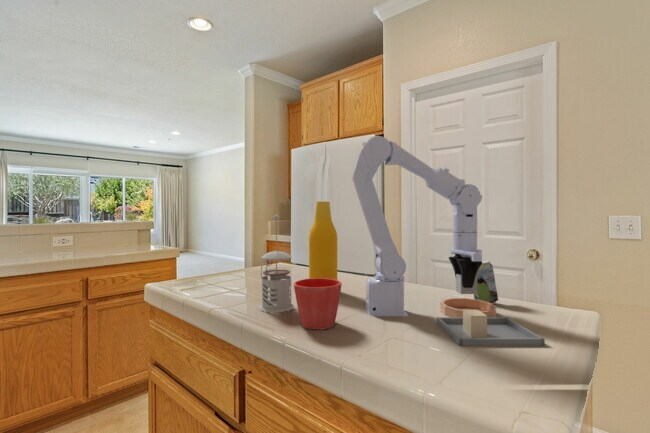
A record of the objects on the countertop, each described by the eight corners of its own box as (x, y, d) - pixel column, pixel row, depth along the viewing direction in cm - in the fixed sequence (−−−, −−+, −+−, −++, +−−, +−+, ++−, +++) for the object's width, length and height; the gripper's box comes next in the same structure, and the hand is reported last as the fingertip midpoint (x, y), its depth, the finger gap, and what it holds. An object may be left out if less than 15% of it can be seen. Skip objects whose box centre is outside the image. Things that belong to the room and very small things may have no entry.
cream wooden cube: (487, 337, 67) (487, 315, 67) (470, 337, 67) (471, 315, 67) (477, 330, 71) (478, 309, 71) (462, 330, 71) (462, 309, 71)
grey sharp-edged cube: (461, 294, 84) (461, 276, 84) (456, 290, 87) (456, 273, 87) (477, 294, 84) (477, 276, 84) (471, 290, 87) (471, 273, 87)
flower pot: (294, 317, 82) (294, 277, 82) (338, 316, 83) (338, 277, 83) (293, 333, 72) (293, 287, 72) (344, 331, 73) (344, 286, 72)
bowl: (452, 324, 77) (452, 311, 77) (434, 308, 90) (434, 298, 90) (506, 324, 77) (506, 311, 77) (481, 308, 90) (481, 297, 90)
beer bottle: (340, 289, 111) (340, 201, 111) (332, 296, 103) (332, 201, 102) (314, 287, 114) (314, 202, 114) (304, 294, 105) (304, 201, 105)
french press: (270, 315, 84) (270, 215, 84) (248, 305, 93) (247, 214, 92) (302, 308, 90) (301, 214, 90) (278, 299, 99) (277, 214, 99)
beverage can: (501, 307, 91) (501, 262, 90) (471, 305, 92) (472, 262, 92) (494, 301, 97) (494, 259, 97) (467, 300, 98) (467, 258, 98)
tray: (459, 348, 63) (459, 339, 63) (436, 325, 76) (436, 317, 76) (544, 348, 63) (544, 339, 63) (507, 325, 76) (507, 317, 76)
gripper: (495, 234, 78) (494, 292, 78) (468, 230, 92) (468, 279, 93) (464, 234, 78) (464, 292, 78) (442, 230, 92) (442, 280, 93)
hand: (464, 285), depth 85 cm, fingers closed on grey sharp-edged cube, 3 cm apart
